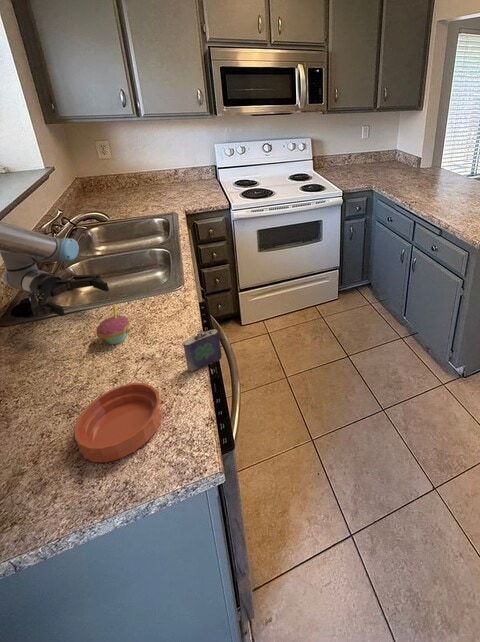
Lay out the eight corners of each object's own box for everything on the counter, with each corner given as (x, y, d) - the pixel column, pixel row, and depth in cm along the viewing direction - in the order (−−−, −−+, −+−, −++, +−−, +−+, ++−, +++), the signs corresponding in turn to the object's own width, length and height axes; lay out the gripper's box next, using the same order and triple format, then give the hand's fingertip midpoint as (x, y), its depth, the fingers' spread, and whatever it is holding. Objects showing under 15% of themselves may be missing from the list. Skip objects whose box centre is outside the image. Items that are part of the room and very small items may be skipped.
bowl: (67, 474, 70) (61, 458, 68) (93, 406, 84) (89, 392, 83) (156, 451, 74) (152, 435, 72) (166, 390, 89) (163, 376, 87)
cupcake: (120, 327, 112) (112, 294, 108) (138, 334, 109) (130, 301, 105) (93, 344, 105) (83, 309, 101) (112, 353, 101) (102, 317, 97)
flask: (189, 374, 93) (183, 340, 90) (186, 367, 96) (180, 334, 92) (223, 359, 98) (218, 326, 95) (219, 352, 101) (215, 321, 97)
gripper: (84, 276, 127) (125, 288, 119) (1, 316, 106) (44, 334, 97) (78, 257, 124) (120, 268, 116) (-8, 294, 103) (36, 311, 95)
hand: (86, 298), depth 107 cm, fingers open, 13 cm apart
